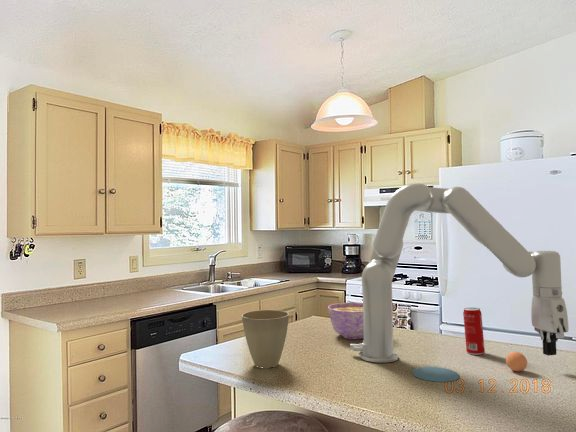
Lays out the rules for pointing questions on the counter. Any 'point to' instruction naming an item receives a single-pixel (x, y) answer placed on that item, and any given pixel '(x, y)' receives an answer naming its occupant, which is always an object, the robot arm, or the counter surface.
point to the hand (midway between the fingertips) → (549, 354)
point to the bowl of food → (347, 319)
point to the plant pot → (265, 335)
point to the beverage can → (473, 331)
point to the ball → (516, 361)
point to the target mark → (435, 374)
